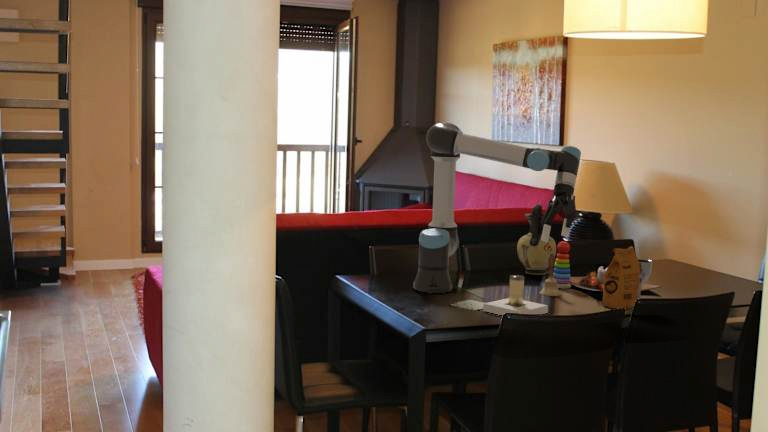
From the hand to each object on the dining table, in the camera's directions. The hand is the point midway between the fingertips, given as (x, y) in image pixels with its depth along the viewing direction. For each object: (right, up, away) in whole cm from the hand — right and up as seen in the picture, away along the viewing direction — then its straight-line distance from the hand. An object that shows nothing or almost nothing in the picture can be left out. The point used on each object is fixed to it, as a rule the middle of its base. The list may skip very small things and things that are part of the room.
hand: (554, 239), depth 326 cm
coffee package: (+23, -25, -3) cm, 34 cm away
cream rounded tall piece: (+3, -17, +60) cm, 62 cm away
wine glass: (+35, -24, +11) cm, 43 cm away
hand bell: (+1, -22, +15) cm, 27 cm away
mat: (-32, -24, -11) cm, 41 cm away
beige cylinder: (-17, -25, -19) cm, 36 cm away
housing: (-17, -25, -19) cm, 36 cm away
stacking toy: (+8, -21, +30) cm, 37 cm away
